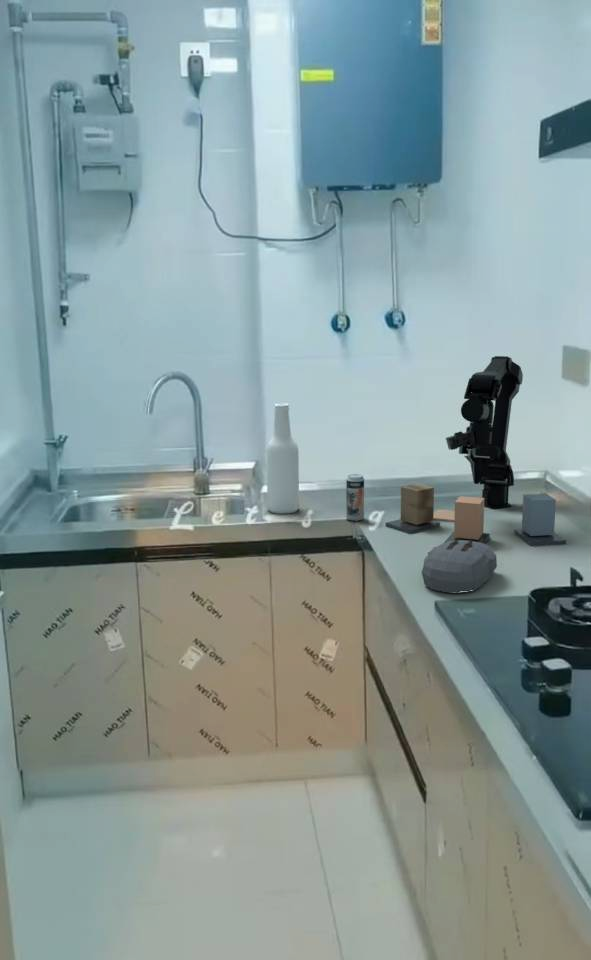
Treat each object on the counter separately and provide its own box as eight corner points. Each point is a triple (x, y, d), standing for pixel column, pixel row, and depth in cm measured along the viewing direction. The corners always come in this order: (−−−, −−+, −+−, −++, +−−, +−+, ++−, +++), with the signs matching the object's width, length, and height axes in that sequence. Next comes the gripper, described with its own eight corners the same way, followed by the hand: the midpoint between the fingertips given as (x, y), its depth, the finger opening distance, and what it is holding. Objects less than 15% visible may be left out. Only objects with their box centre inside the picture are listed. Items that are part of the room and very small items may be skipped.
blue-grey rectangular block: (521, 529, 237) (523, 494, 235) (544, 527, 238) (546, 493, 236) (530, 536, 231) (532, 500, 229) (554, 534, 232) (555, 499, 230)
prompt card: (437, 511, 259) (437, 509, 259) (470, 514, 256) (470, 512, 256) (429, 519, 251) (429, 517, 251) (462, 523, 248) (462, 520, 248)
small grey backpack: (438, 563, 216) (409, 591, 199) (439, 528, 214) (409, 553, 197) (503, 572, 210) (478, 601, 192) (505, 536, 208) (480, 563, 190)
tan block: (459, 530, 236) (460, 496, 234) (483, 533, 234) (484, 498, 232) (454, 537, 231) (454, 501, 229) (478, 539, 229) (479, 504, 227)
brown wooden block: (417, 516, 250) (417, 483, 248) (433, 520, 245) (434, 487, 243) (400, 520, 247) (401, 486, 244) (416, 524, 242) (417, 491, 240)
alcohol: (271, 505, 268) (269, 401, 261) (301, 506, 266) (300, 401, 259) (264, 513, 259) (262, 406, 252) (295, 515, 258) (294, 406, 251)
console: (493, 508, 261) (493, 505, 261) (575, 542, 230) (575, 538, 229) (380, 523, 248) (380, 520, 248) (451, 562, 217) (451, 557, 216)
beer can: (343, 520, 252) (343, 476, 249) (350, 516, 256) (350, 473, 253) (359, 522, 249) (359, 478, 247) (367, 518, 254) (367, 474, 251)
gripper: (442, 421, 250) (437, 479, 251) (458, 420, 231) (453, 483, 232) (483, 424, 251) (478, 482, 252) (503, 424, 232) (497, 487, 233)
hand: (476, 483), depth 242 cm, fingers closed
